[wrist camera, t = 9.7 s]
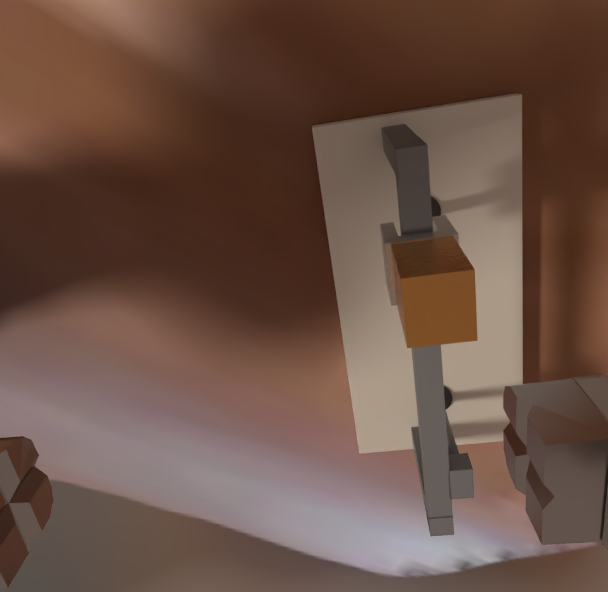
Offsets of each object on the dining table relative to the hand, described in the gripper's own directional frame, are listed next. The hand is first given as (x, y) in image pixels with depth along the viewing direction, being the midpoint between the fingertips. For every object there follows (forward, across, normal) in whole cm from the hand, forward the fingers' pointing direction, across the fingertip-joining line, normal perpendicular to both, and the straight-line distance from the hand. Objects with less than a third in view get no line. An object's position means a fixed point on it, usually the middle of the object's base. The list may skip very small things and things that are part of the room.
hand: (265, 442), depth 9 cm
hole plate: (+33, -8, +12) cm, 36 cm away
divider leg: (+30, -6, +5) cm, 31 cm away
